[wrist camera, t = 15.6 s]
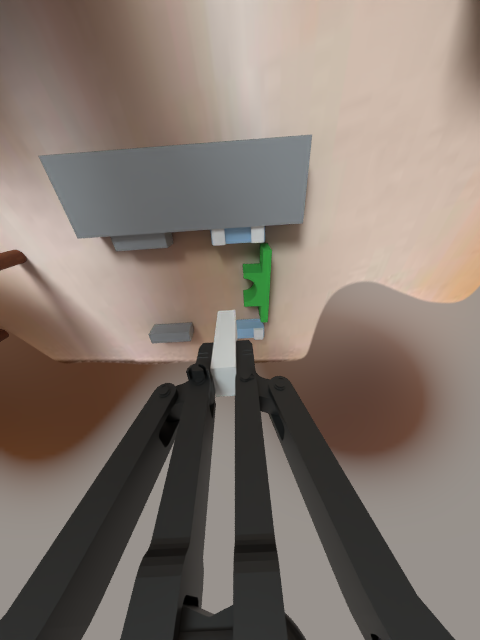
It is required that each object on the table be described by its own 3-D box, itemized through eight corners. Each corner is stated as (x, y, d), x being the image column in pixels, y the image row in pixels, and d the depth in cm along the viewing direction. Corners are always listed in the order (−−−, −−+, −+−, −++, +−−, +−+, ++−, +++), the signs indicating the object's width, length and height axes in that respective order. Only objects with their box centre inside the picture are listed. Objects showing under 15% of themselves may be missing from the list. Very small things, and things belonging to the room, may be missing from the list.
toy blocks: (139, 334, 38) (130, 348, 34) (66, 161, 24) (38, 155, 20) (286, 325, 37) (291, 339, 34) (300, 143, 23) (312, 134, 20)
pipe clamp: (242, 243, 29) (243, 250, 25) (267, 242, 29) (272, 249, 25) (243, 309, 35) (244, 323, 31) (264, 308, 35) (267, 322, 31)
